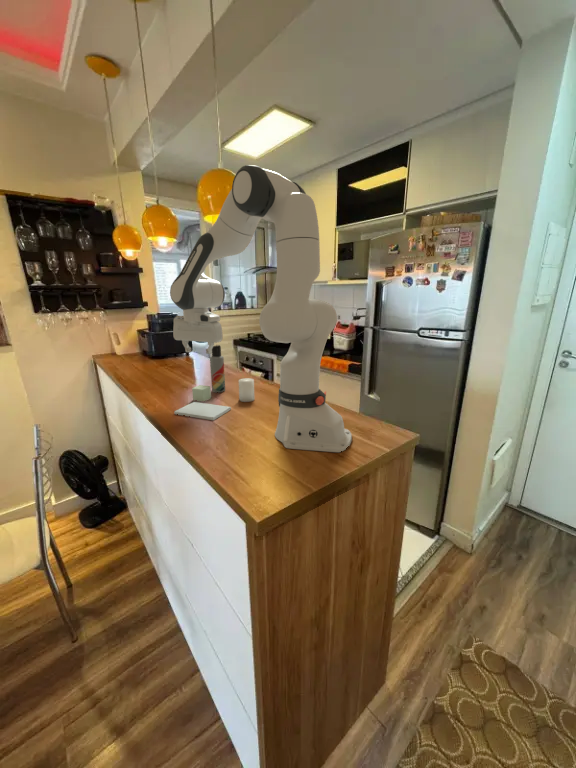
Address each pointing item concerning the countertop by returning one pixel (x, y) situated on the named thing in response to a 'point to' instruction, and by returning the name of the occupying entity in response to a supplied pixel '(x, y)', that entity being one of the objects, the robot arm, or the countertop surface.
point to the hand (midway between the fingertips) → (198, 352)
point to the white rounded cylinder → (246, 390)
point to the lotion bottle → (217, 370)
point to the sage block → (201, 393)
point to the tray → (203, 410)
